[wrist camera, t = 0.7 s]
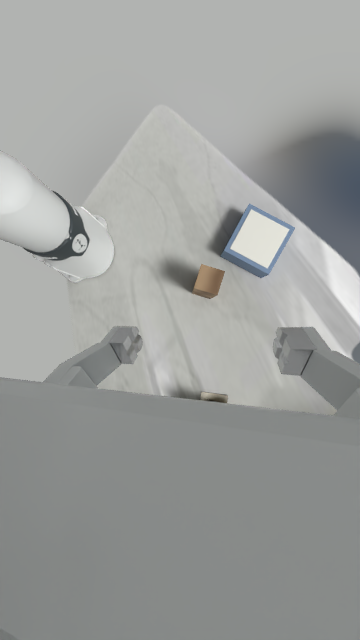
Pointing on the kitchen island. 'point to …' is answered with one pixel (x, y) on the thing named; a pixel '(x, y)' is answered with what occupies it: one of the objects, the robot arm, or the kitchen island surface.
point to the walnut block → (208, 282)
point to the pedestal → (257, 241)
